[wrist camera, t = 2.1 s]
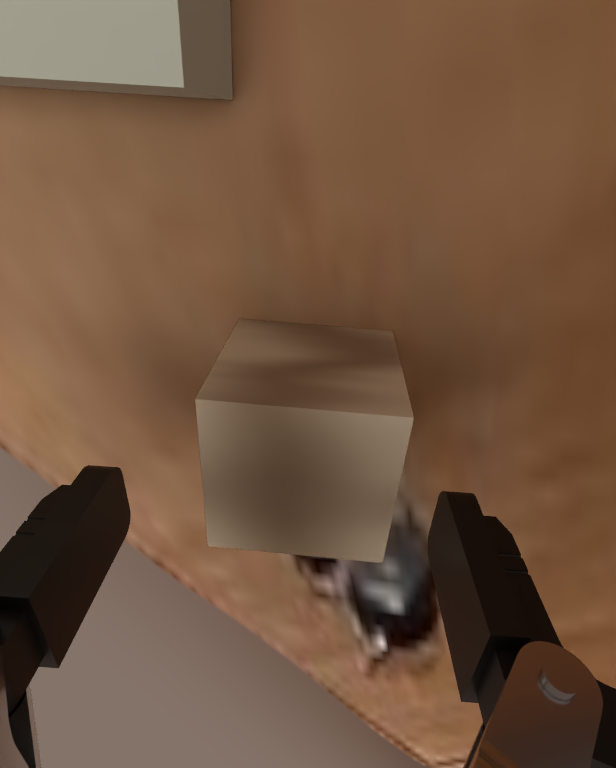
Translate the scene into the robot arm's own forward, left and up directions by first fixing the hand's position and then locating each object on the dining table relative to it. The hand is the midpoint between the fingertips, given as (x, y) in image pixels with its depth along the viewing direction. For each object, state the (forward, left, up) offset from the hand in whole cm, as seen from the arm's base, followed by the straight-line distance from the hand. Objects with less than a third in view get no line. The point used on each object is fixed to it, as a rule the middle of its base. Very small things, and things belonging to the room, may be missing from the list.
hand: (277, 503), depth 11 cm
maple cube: (0, 0, -5) cm, 5 cm away
